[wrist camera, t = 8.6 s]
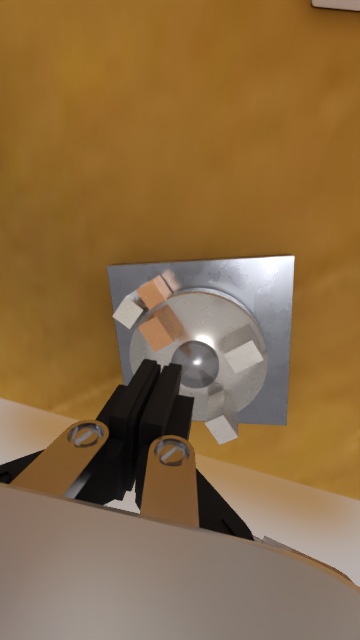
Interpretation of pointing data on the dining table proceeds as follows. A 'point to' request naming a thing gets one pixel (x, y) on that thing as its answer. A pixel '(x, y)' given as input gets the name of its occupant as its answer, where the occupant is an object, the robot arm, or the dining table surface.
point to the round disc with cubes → (203, 350)
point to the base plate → (237, 281)
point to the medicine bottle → (338, 4)
